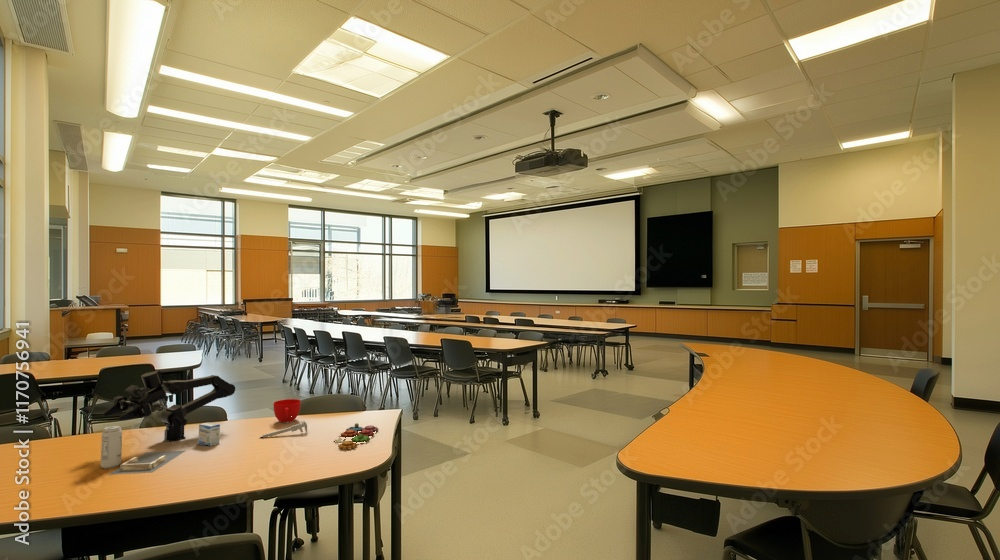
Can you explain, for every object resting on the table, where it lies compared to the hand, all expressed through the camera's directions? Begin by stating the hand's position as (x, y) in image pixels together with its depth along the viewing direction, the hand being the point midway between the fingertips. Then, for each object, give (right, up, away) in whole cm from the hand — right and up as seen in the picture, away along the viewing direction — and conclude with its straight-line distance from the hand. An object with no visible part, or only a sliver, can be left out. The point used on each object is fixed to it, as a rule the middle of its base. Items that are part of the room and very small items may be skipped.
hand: (110, 417), depth 188 cm
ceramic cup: (+48, -18, +51) cm, 73 cm away
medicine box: (+30, -17, +16) cm, 38 cm away
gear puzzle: (+92, -18, +24) cm, 96 cm away
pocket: (+21, -16, -10) cm, 28 cm away
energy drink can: (+9, -16, -11) cm, 21 cm away
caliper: (+57, -18, +29) cm, 66 cm away
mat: (+21, -16, -6) cm, 27 cm away
